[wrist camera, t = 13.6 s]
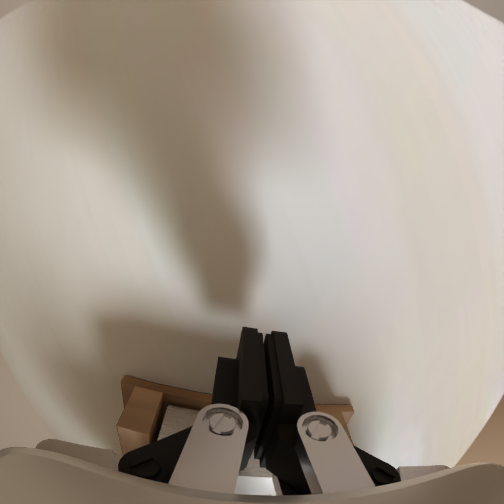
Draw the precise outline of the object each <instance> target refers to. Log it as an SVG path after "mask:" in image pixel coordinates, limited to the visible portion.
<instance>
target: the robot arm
mask: <svg viewBox="0 0 504 504" xmlns="http://www.w3.org/2000/svg"><path fill="white" fill-rule="evenodd" d="M253 449H254V459H259V463H260V468H266V469H267V470H268V471H269V472H271V473H272V474H273V475H272V482H273V485H274V489H275V492H276V496H275V495H247V494H234V491H235V487H236V483H237V478H238V474H239V472H240V471H242V470H243V469H245V468H246V467H247V464H248V461H249V459H250V458H251V455H252V452H253ZM0 504H504V466H502V465H499V464H495V463H473V464H465V465H461V466H456V467H452V468H449V467H447V466H443V465H435V466H406V467H400V466H399V467H398V468H397V469H395V468H394V467H393V466H391V465H390V464H388V463H386V462H384V461H382V460H380V459H378V458H376V457H374V456H372V455H370V454H368V453H367V452H365V451H363V450H361V449H359V448H357V447H356V446H354V445H352V443H351V441H350V439H349V438H348V436H347V434H346V432H345V430H344V428H343V427H342V425H341V424H340V422H339V421H338V420H337V419H336V418H334V417H333V416H331V415H329V414H327V413H323V412H317V411H316V407H315V404H314V400H313V397H312V393H311V389H310V386H309V382H308V379H307V375H306V372H305V369H304V367H298V366H295V364H294V360H293V355H292V351H291V347H290V343H289V339H288V335H287V333H285V332H277V331H272V332H271V334H266V336H265V340H264V344H263V334H262V333H258V330H257V329H255V328H248V327H243V328H242V332H241V338H240V343H239V348H238V353H237V358H236V359H231V358H224V357H218V362H217V368H216V375H215V382H214V388H213V395H212V403H211V405H209V406H206V407H204V408H203V409H201V410H200V412H199V413H198V415H197V417H196V420H195V422H194V424H193V426H191V427H188V428H186V429H184V430H182V431H179V432H177V433H175V434H172V435H170V436H168V437H165V438H163V439H160V440H158V441H155V442H153V443H150V444H148V445H145V446H142V447H140V448H137V449H134V450H131V451H129V452H128V453H126V454H116V453H114V450H108V449H101V448H95V447H89V446H84V445H79V444H74V443H69V442H65V441H60V440H55V439H47V440H44V441H42V442H40V443H39V444H38V445H37V446H36V448H25V447H10V448H5V449H2V450H0Z"/></svg>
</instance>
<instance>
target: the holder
mask: <svg viewBox="0 0 504 504" xmlns="http://www.w3.org/2000/svg"><path fill="white" fill-rule="evenodd" d="M121 386H122V394H123V402H124V411H123V413H122V415H121V417H120V419H119V421H118V424H117V430H118V435H119V440H120V444H121V448H122V452H123V454H126V453H128V452H129V451H131V450H134V449H137V448H140V447H142V446H145V445H148V444H150V443H153V442H155V441H157V440H158V437H159V433H160V430H161V427H162V423H163V420H164V417H165V413H166V410H167V407H168V405H172V406H177V407H182V408H187V409H192V410H198V411H200V410H201V409H203V408H204V407H206V406H209V405H211V403H212V394H206V393H200V392H194V391H189V390H184V389H179V388H174V387H170V386H165V385H161V384H156V383H152V382H148V381H144V380H140V379H136V378H133V377H129V376H124V378H123V379H122V381H121ZM315 407H316V411H317V412H323V413H327V414H329V415H331V416H333V417H334V418H336V419H337V420H338V421H339V422H340V424H341V425H342V427H343V428H344V430H345V432H346V434H347V436H348V438H349V439H350V441H351V443H352V445H353V442H352V439H351V436H350V434H349V431H348V428H347V424H348V422H349V420H350V418H351V417H352V415H353V413H354V410H353V407H352V405H316V404H315Z"/></svg>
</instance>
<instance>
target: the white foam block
mask: <svg viewBox="0 0 504 504" xmlns="http://www.w3.org/2000/svg"><path fill="white" fill-rule="evenodd" d="M199 412H200V411H198V410H192V409H187V408H182V407H177V406H172V405H168V407H167V410H166V413H165V417H164V420H163V423H162V427H161V430H160V433H159V437H158V440H160V439H163V438H165V437H168V436H170V435H172V434H175V433H177V432H179V431H182V430H184V429H186V428H188V427H191V426H193V424H194V422H195V420H196V417H197V415H198V413H199ZM158 440H157V441H158ZM272 475H273V474H272V473H271V472H269V471H268V470H267V469H266V468H260V463H259V459H254V449H253V452H252V455H251V458H250V459H249V461H248V464H247V467H246V468H245V469H243V470H242V471H240V472H239V474H238V478H237V483H236V487H235V491H234V494H247V495H275V496H276V492H275V489H274V485H273V482H272Z"/></svg>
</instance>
